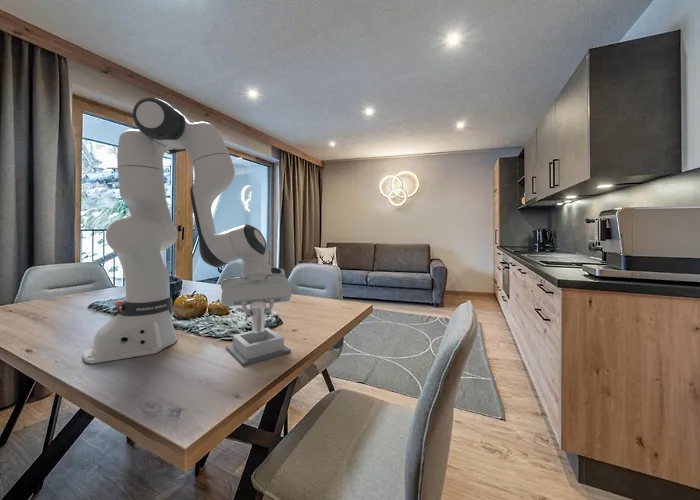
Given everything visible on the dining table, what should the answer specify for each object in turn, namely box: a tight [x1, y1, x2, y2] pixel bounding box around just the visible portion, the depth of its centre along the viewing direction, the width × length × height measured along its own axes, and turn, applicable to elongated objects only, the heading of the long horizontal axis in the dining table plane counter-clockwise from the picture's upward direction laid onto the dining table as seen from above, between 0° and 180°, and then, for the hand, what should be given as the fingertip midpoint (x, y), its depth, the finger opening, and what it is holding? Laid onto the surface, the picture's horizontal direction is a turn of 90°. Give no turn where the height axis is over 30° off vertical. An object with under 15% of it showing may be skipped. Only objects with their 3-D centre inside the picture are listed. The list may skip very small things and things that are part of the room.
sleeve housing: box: [225, 327, 292, 367], centre depth 87 cm, size 14×14×4 cm
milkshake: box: [249, 300, 268, 334], centre depth 87 cm, size 4×5×10 cm
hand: (258, 315), depth 86 cm, fingers closed on milkshake, 4 cm apart
